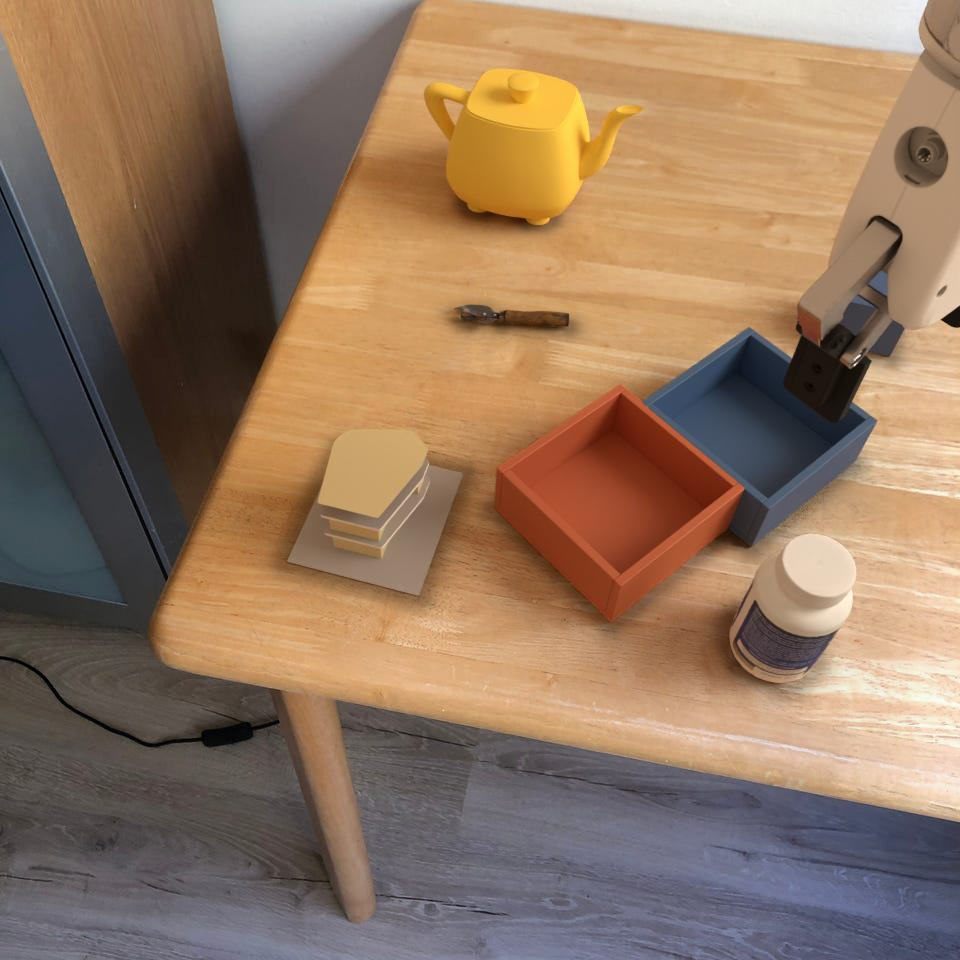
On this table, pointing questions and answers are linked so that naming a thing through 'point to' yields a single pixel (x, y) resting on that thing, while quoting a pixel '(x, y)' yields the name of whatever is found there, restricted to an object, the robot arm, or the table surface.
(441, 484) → the stacked layers on plate
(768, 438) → the blue bin
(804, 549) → the pill bottle
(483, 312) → the can opener
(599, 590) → the terracotta bin
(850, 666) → the table surface
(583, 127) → the teapot
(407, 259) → the table surface
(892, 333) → the blue block
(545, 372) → the table surface
